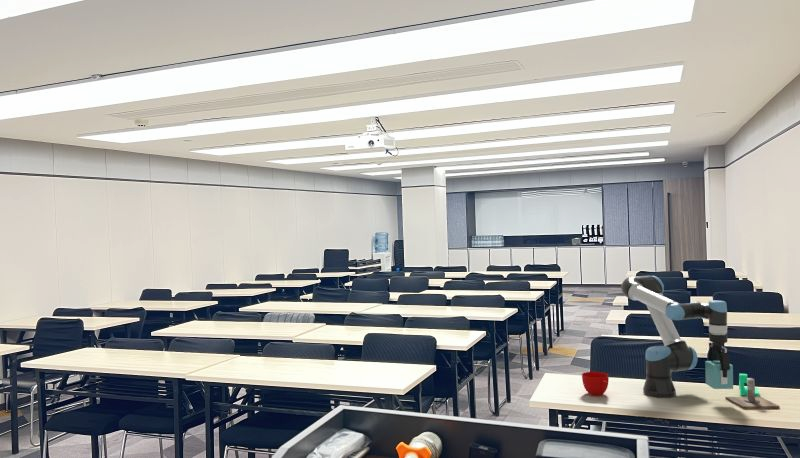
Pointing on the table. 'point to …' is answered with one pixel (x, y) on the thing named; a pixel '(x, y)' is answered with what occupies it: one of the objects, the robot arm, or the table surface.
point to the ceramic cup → (595, 382)
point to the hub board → (752, 405)
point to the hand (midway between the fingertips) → (719, 381)
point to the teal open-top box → (717, 375)
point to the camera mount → (741, 385)
